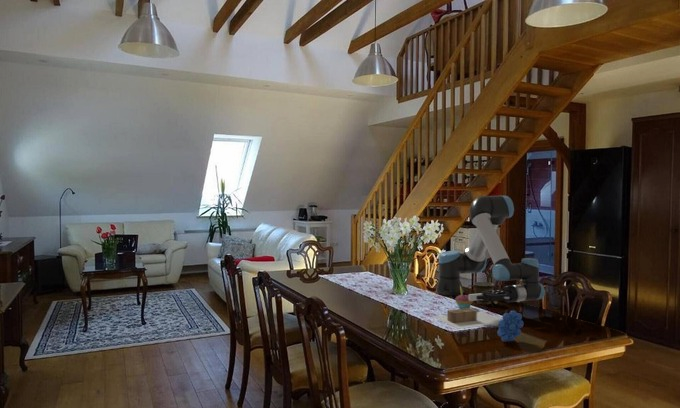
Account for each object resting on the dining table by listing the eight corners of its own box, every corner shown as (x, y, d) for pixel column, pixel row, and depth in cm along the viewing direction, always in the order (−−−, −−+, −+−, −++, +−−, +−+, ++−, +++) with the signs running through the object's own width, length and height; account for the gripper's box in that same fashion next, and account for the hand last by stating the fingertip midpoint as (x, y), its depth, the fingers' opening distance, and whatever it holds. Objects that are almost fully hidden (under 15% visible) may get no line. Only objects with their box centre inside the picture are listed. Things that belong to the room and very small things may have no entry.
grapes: (515, 336, 192) (515, 306, 191) (527, 341, 185) (527, 310, 185) (490, 339, 188) (490, 309, 188) (502, 344, 182) (501, 313, 181)
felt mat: (433, 318, 220) (433, 316, 220) (482, 312, 228) (482, 311, 228) (457, 330, 201) (457, 328, 201) (509, 323, 209) (509, 322, 209)
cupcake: (453, 310, 234) (453, 285, 233) (457, 306, 241) (457, 282, 241) (471, 312, 230) (471, 287, 229) (474, 308, 237) (474, 284, 237)
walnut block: (470, 317, 218) (447, 320, 214) (470, 308, 217) (447, 310, 214) (477, 320, 213) (453, 323, 209) (477, 310, 213) (453, 313, 209)
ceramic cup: (491, 300, 252) (491, 282, 252) (495, 305, 242) (495, 285, 242) (466, 300, 254) (466, 281, 253) (469, 305, 244) (469, 285, 243)
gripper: (523, 304, 216) (477, 309, 208) (504, 298, 228) (461, 302, 220) (523, 288, 215) (477, 292, 208) (504, 283, 228) (461, 286, 220)
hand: (469, 297), depth 214 cm, fingers closed
